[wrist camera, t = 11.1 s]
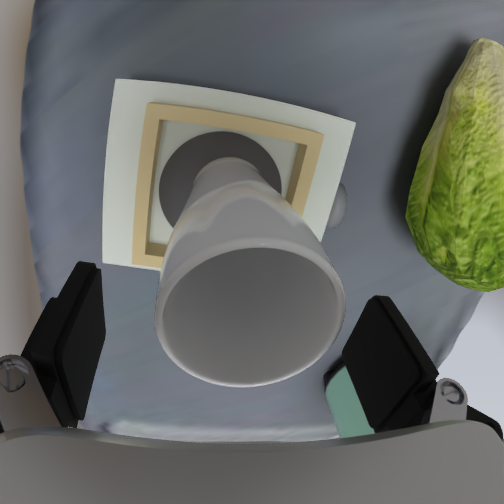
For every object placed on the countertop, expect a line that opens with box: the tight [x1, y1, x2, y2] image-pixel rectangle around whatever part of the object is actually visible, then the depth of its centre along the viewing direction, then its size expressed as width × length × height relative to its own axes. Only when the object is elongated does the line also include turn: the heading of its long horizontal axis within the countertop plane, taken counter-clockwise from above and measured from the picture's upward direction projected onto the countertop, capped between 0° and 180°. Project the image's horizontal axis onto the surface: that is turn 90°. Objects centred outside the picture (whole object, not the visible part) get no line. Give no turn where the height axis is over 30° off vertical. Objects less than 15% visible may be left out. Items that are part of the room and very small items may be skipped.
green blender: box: [324, 362, 375, 438], centre depth 27 cm, size 19×13×35 cm
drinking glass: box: [154, 157, 346, 387], centre depth 17 cm, size 7×7×15 cm
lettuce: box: [405, 38, 504, 292], centre depth 23 cm, size 15×24×14 cm, turn 173°
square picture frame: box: [103, 79, 356, 271], centre depth 25 cm, size 15×19×6 cm
